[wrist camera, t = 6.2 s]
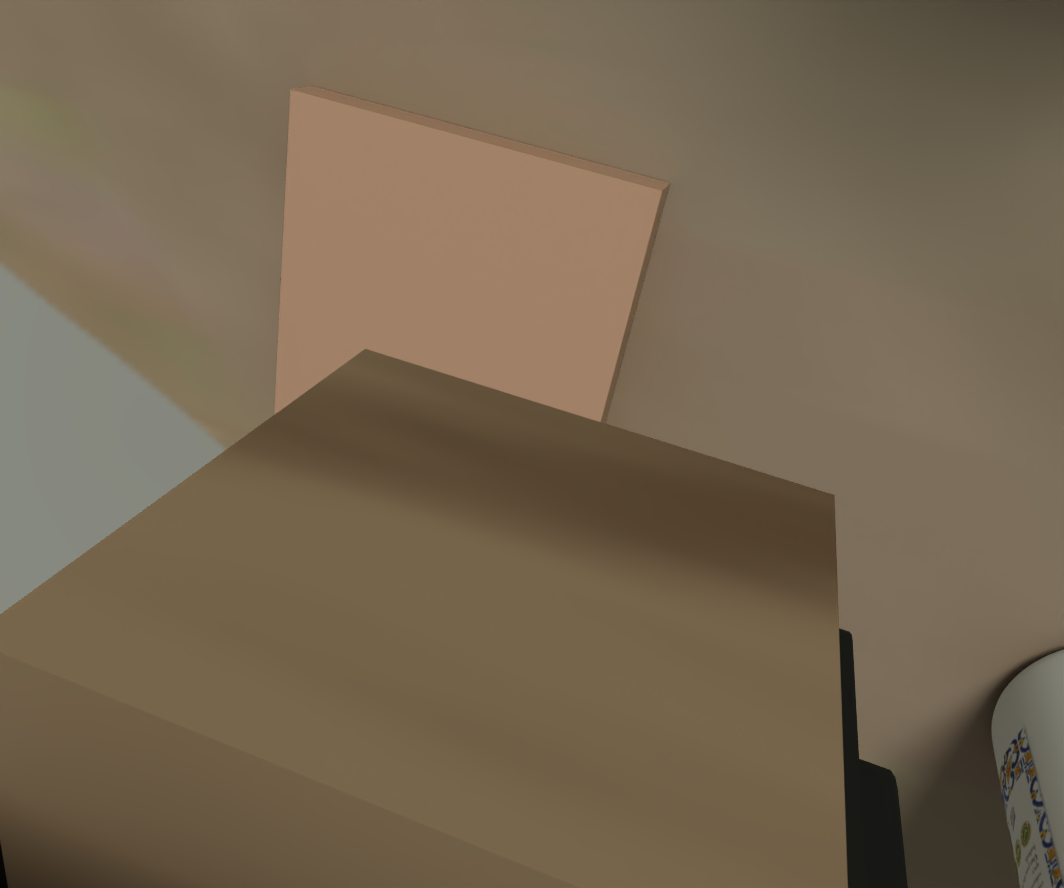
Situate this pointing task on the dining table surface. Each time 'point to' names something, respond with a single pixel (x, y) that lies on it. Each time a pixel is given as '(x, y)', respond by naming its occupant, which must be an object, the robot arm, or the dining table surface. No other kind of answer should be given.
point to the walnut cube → (435, 663)
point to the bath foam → (1033, 769)
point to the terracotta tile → (456, 254)
